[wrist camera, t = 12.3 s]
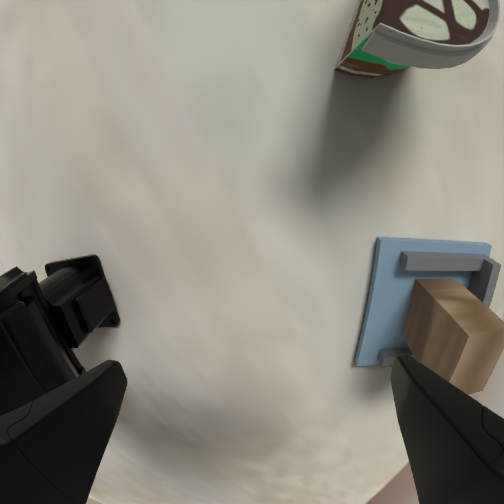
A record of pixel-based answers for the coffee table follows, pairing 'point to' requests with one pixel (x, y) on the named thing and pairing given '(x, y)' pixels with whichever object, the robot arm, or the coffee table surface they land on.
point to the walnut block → (453, 333)
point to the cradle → (402, 282)
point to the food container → (416, 34)
